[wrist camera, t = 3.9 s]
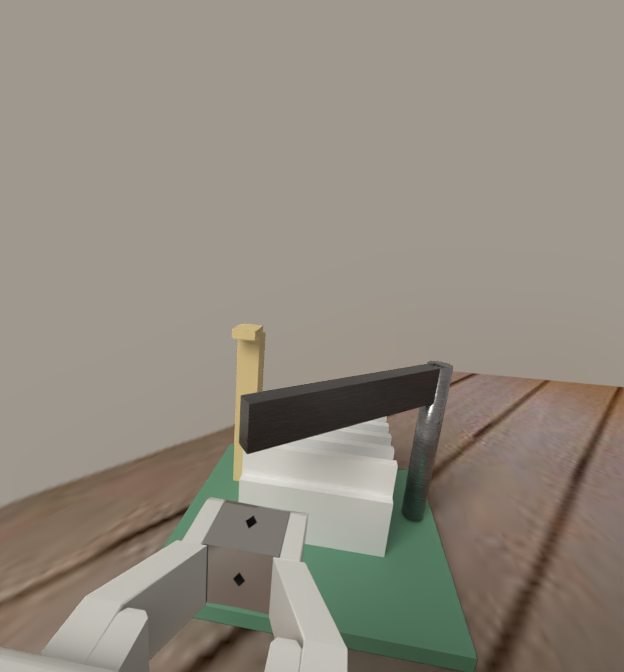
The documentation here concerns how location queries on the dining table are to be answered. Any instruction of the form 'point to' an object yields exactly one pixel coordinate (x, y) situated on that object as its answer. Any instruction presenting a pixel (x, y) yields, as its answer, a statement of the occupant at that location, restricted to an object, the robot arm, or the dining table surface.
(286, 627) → the robot arm
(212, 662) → the dining table surface
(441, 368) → the retention bar
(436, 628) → the board
